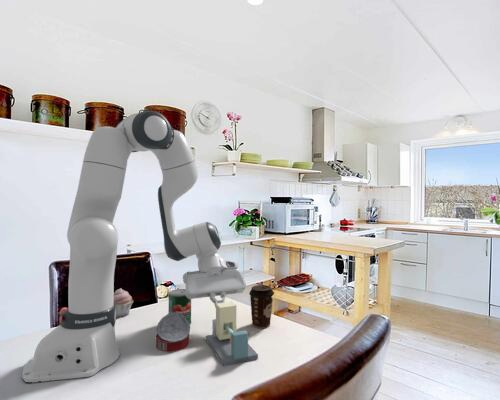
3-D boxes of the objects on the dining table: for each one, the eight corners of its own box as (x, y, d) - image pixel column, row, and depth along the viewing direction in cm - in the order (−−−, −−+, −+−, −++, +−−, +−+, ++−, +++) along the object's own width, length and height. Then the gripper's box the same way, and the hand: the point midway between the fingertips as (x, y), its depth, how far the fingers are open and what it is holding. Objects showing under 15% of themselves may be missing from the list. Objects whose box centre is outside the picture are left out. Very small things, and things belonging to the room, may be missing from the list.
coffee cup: (274, 320, 116) (274, 284, 115) (273, 330, 107) (274, 291, 107) (250, 319, 116) (250, 284, 116) (247, 329, 108) (248, 290, 108)
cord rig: (223, 366, 84) (223, 337, 84) (205, 339, 100) (206, 315, 100) (257, 358, 88) (258, 331, 88) (236, 334, 104) (236, 311, 104)
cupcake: (132, 318, 118) (132, 290, 117) (104, 320, 115) (104, 292, 115) (134, 309, 127) (134, 284, 126) (109, 311, 124) (109, 285, 124)
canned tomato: (180, 329, 107) (180, 297, 107) (163, 324, 111) (163, 293, 111) (196, 322, 114) (196, 291, 114) (179, 317, 118) (179, 287, 118)
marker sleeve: (219, 340, 95) (219, 307, 95) (215, 334, 99) (215, 303, 98) (236, 337, 97) (236, 305, 97) (231, 332, 101) (231, 301, 101)
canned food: (187, 354, 100) (202, 326, 100) (171, 366, 91) (188, 336, 90) (160, 332, 104) (174, 306, 103) (141, 342, 94) (157, 313, 94)
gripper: (183, 267, 105) (189, 306, 96) (241, 262, 113) (252, 298, 104) (180, 277, 109) (186, 315, 101) (236, 272, 118) (246, 307, 109)
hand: (220, 306), depth 103 cm, fingers closed
